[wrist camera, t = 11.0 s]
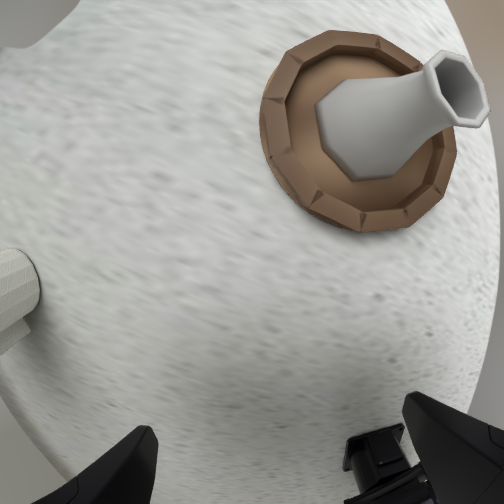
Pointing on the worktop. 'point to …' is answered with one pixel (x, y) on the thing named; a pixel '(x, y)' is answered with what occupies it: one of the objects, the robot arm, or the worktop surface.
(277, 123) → the walnut collar
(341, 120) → the flask
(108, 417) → the worktop surface
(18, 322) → the paper towel roll
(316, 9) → the worktop surface
